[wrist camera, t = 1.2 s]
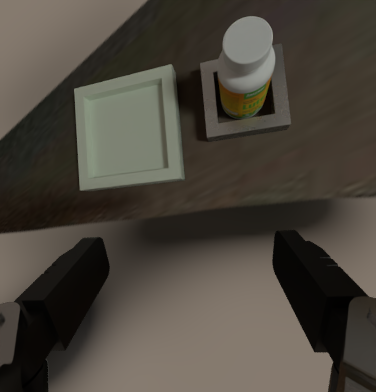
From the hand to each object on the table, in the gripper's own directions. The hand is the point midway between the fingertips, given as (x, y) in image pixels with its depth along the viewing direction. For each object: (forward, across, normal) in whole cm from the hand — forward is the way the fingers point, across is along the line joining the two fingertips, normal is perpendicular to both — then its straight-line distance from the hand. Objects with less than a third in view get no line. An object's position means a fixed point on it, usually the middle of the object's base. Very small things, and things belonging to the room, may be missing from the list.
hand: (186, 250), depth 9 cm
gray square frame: (+21, -7, -8) cm, 23 cm away
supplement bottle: (+21, -7, -8) cm, 23 cm away
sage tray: (+22, +9, -4) cm, 24 cm away
